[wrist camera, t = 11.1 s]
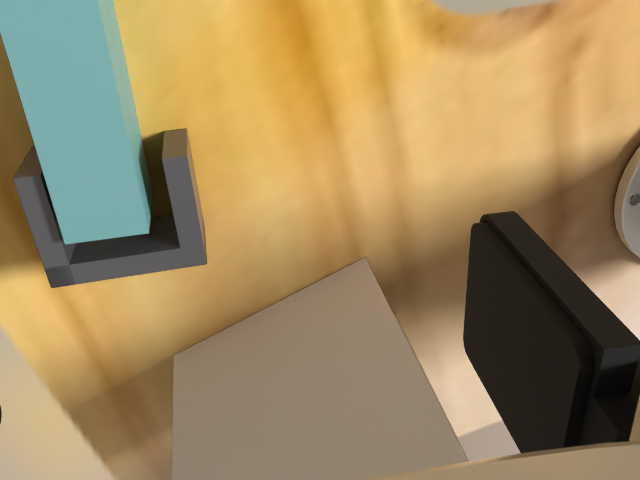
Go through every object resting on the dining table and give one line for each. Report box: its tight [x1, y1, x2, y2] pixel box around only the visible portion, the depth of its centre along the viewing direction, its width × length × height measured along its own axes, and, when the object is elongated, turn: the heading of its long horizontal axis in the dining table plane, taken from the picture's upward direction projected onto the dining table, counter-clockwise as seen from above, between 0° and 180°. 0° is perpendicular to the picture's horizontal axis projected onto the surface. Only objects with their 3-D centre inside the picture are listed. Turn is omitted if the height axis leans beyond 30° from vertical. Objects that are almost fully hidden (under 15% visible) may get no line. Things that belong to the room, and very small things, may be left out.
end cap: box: [13, 128, 207, 288], centre depth 32 cm, size 8×6×4 cm
